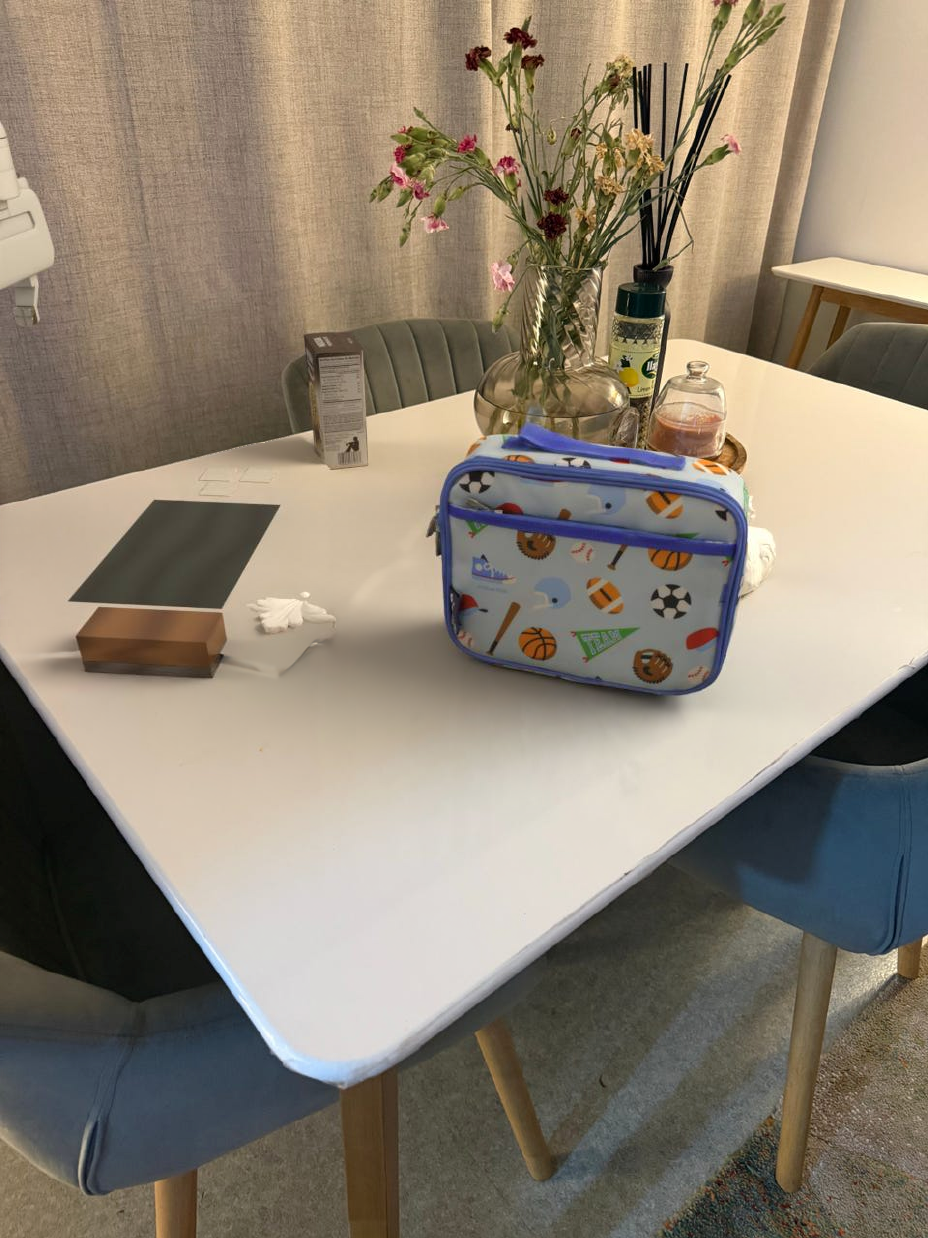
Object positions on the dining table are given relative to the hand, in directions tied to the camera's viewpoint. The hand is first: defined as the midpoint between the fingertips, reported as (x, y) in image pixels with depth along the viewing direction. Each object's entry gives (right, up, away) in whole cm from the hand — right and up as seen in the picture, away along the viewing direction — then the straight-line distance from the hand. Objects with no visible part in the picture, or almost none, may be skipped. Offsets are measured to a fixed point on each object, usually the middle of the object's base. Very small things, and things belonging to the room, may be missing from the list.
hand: (4, 338), depth 84 cm
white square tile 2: (+17, -9, +33) cm, 38 cm away
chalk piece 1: (+11, -8, +33) cm, 36 cm away
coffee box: (+26, -4, +41) cm, 49 cm away
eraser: (+15, -30, 0) cm, 34 cm away
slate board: (+12, -19, +16) cm, 28 cm away
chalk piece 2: (+12, -11, +30) cm, 34 cm away
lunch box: (+54, -31, 0) cm, 62 cm away
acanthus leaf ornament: (+26, -27, +6) cm, 38 cm away
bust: (+72, -23, +12) cm, 76 cm away
